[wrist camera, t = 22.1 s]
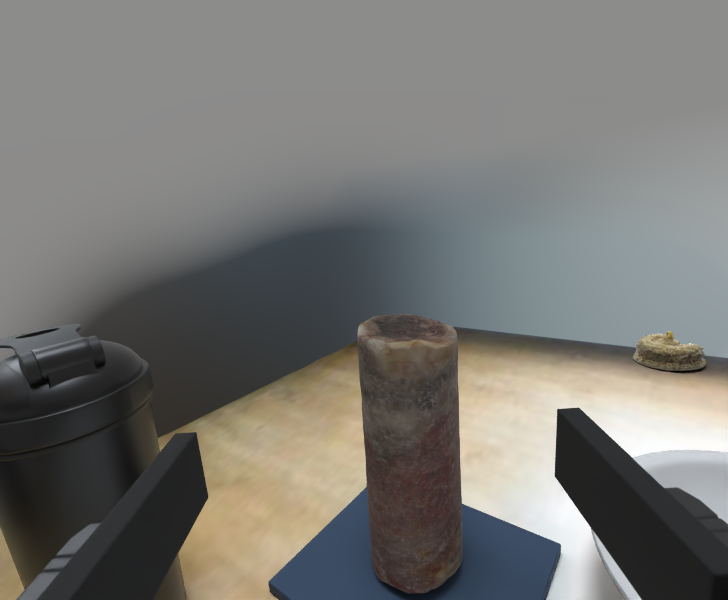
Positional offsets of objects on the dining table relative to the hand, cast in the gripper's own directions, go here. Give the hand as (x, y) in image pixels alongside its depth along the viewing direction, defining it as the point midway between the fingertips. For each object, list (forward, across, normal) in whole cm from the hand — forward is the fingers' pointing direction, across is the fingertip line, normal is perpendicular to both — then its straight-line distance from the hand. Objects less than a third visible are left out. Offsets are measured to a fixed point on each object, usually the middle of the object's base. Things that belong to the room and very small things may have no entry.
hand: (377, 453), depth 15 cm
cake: (+51, +50, -21) cm, 74 cm away
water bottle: (+11, -20, -21) cm, 31 cm away
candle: (+14, +2, -20) cm, 24 cm away
